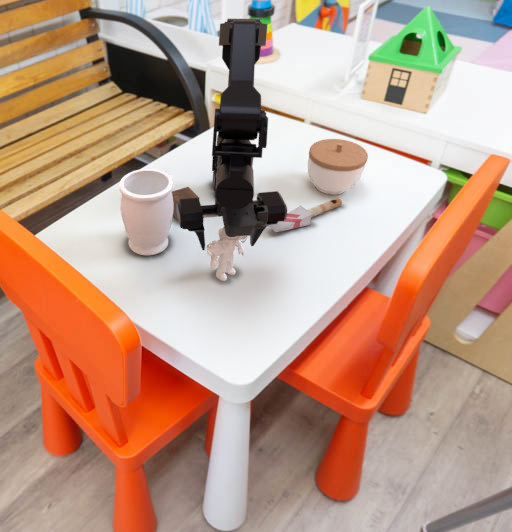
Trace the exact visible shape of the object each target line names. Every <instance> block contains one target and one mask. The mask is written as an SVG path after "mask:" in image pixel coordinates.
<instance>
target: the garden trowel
mask: <svg viewBox="0 0 512 532" xmlns="http://www.w3.org/2000/svg"><path fill="white" fill-rule="evenodd" d="M342 204H343V201H342V199H341V198H340V197H336V198H333V199H331V200H329V201H326V202H324V203H321V204H319V205H316V206H314V207H311V208H309V209H308V208H305V207H304V206H302V205H299V206H297V207H296V208H294V209H292V210H290V211H289V212H287V217H286V219H285V220H284V221H278V223H277V224H273V225H269V226H267V228H269V229H271V230H272V231H273V232H275V233H279V232H284V231H288V230H293V229H297V228H301V227H302V228H303V227H306V226H310V225H312V222H311V219H312V218H313V217H317V216H318V215H321V214H323V213H325V212H328V211H330V210H332V209H335V208H338V207H340V206H342Z"/></svg>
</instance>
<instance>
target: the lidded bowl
mask: <svg viewBox="0 0 512 532" xmlns="http://www.w3.org/2000/svg"><path fill="white" fill-rule="evenodd" d="M368 154H369V153H368V152H367V150H366V149H365V148H364V146H363V147H362V146H361V145H360V144H358V143H356V142H353V141H351V140H347V139H341V138H325V139H321V140H318V141H316V142H314V143H312V144H311V146H310V147H309V151H308V159H307V174H308V177H309V180H310V182H311V183H312V184H313V185H314V187H315V189H317V191H319V192H321V193H322V194H326V195H332V196H333V195H334V196H336V195H340V194H343V193H344V192H346V191H347V190H350V189H352V187H354V186H355V185H356V184H357V183H358V181H359V180H360V178H361V176H362V175H363V172H364V169H365V167H366V164H367V162H368V159H369V158H368V157H369V155H368Z"/></svg>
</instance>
